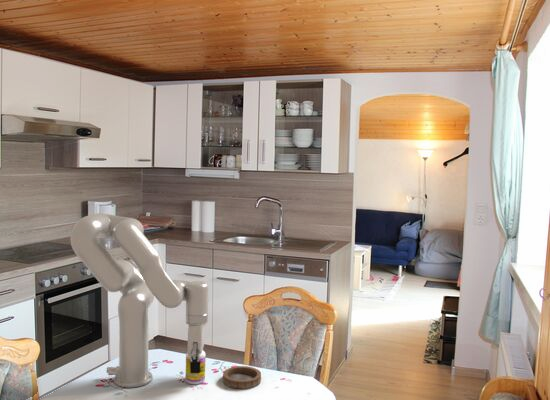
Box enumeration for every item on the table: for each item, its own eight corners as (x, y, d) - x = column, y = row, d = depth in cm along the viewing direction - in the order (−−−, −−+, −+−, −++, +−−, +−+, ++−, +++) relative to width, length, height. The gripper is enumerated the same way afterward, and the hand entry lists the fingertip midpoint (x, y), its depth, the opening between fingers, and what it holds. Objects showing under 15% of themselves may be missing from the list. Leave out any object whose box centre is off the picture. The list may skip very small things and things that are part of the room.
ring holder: (221, 389, 165) (222, 381, 165) (224, 373, 178) (224, 365, 178) (260, 389, 166) (261, 381, 166) (260, 373, 179) (260, 366, 179)
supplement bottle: (201, 386, 167) (201, 348, 166) (182, 383, 168) (183, 346, 168) (207, 378, 174) (208, 342, 173) (189, 376, 175) (190, 340, 174)
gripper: (189, 310, 178) (189, 357, 179) (182, 326, 161) (182, 377, 162) (210, 310, 178) (210, 357, 180) (205, 326, 161) (205, 377, 162)
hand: (196, 367), depth 171 cm, fingers open, 9 cm apart
